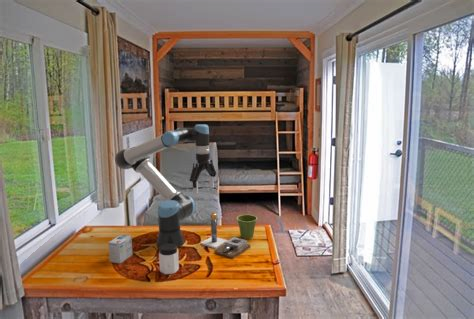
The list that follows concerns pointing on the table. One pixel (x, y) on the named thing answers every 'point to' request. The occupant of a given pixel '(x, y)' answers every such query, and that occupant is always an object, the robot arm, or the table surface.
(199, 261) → the table surface
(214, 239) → the copper and gray cylinder
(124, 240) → the light bulb box
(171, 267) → the jar
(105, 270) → the table surface
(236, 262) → the table surface
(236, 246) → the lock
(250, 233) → the plant pot
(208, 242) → the mat
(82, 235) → the table surface
